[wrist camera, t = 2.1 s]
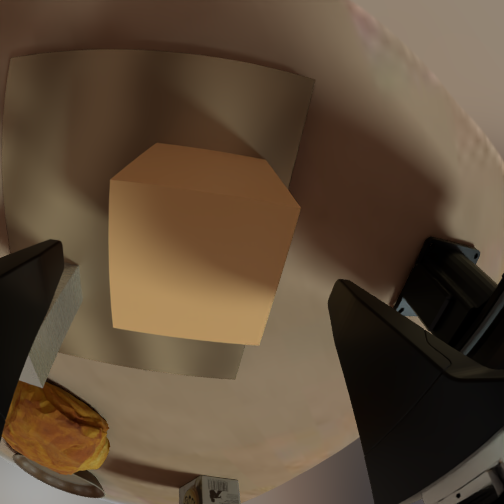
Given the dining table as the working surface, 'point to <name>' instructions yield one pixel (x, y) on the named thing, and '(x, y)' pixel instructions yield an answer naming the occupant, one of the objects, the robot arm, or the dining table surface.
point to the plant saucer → (62, 478)
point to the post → (54, 327)
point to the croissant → (55, 429)
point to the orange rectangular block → (197, 244)
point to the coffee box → (210, 491)
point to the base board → (123, 153)
